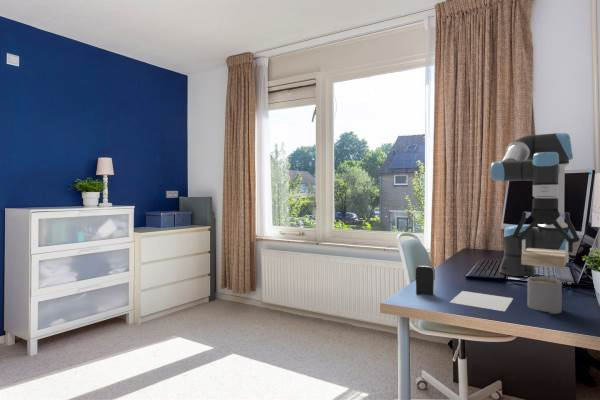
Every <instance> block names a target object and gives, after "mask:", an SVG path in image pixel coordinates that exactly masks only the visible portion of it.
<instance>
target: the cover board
mask: <svg viewBox="0 0 600 400" xmlns="http://www.w3.org/2000/svg"><path fill="white" fill-rule="evenodd" d="M565 258H566V255H565V250H551V249H538V248H527V249H526V250H525V251H524V252H523V253H522V254H521V264H523V265H533V266H535V267H545V268H555V269H556V268H557V269H565V267H566V264H567V263H565Z"/></svg>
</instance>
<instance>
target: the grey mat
mask: <svg viewBox="0 0 600 400" xmlns="http://www.w3.org/2000/svg"><path fill="white" fill-rule="evenodd" d="M513 299H514V298H513V297H506V296H500V295H494V294H493V295H492V294H485V293H479V292H471V291H465V290H462V291H460V293H458V294H457V295H455V296H454V298H453V299H452V300H450V301H449V303H451V304H457V305H461V306H462V305H463V306H469V307H475V308H481V309H488V310H494V311H499V312H504V313H505V312H506V311H507V310H508V308H509V306H510V304H511V303H512V301H513Z"/></svg>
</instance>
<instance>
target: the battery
mask: <svg viewBox="0 0 600 400" xmlns="http://www.w3.org/2000/svg"><path fill="white" fill-rule="evenodd" d="M435 280H436V271H435V268H434V267H433V266H431V265H421V264H420V265H418V266H416V267H415V294H416V295H419V296H420V295H426V296H434V295H435Z"/></svg>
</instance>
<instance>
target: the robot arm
mask: <svg viewBox="0 0 600 400" xmlns="http://www.w3.org/2000/svg"><path fill="white" fill-rule="evenodd" d="M504 151H505V152H504V154H505V155H504V157H503V159H502V160H498V161H493V162H492V163H491V165H490V177H491V180H492V181H494V182H517V181H518V182H519V181H520V182H524V181H527V182H530V181H532V197H533V198H532V207H531V208H532V211H531V212H530V211H525V210H524V211H522V213H521V218H520V220H519V222H518V223H517V224H514V225H508V226H506V227H504V230H503V236H502V237H503V258H502V261H501V264H500V266H499V273H500V272H501V273H504V274H506V275H505V276H508V275H513V276H512V277H514V276H533V275H536V276H537V270H536V266H533V265H523V264H521V254H522V253H523V252H524V251H525V250H526V249H527V248H538V249H551V250H565V255H566V258H565V263H566V264H568V263H569V258H570V257H569V254H571V253H573V251H574V249H573V248H574V243H578V242H579V241H580V237H579V235H578V232H577V231H576V229H575V227H574V225H573V223H572V221H571V217H570V212H568V211H567V212H565V182H566V181H565V179H566V178H565V171H566V167H567V166H568V165H569V164H570V161H571V160H573V159H574V156H573V147H572V142H571V136H570V134H569V133H566V132H562V133H561V132H555V133H546V134H545V133H542V134H532V135H531V134H529V135H524V136H522V137H518V138H516V139H515V140H513V141H512V142H511V143H509V144H508V146H507V147H506V148H505V150H504ZM530 216H531V217H532V219H533V221H532V222H531V223H529V224H525V222H526V220H527V219H528V218H529V217H530ZM535 226H537V227H535ZM501 273H500V274H501ZM504 274H503V275H504Z"/></svg>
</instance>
